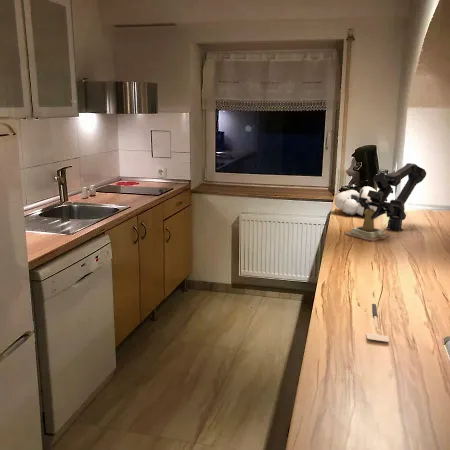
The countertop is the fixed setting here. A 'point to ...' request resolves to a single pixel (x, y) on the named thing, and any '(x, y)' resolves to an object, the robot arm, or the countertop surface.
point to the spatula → (376, 336)
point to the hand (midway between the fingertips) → (367, 218)
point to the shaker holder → (367, 234)
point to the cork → (368, 221)
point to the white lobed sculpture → (353, 201)
